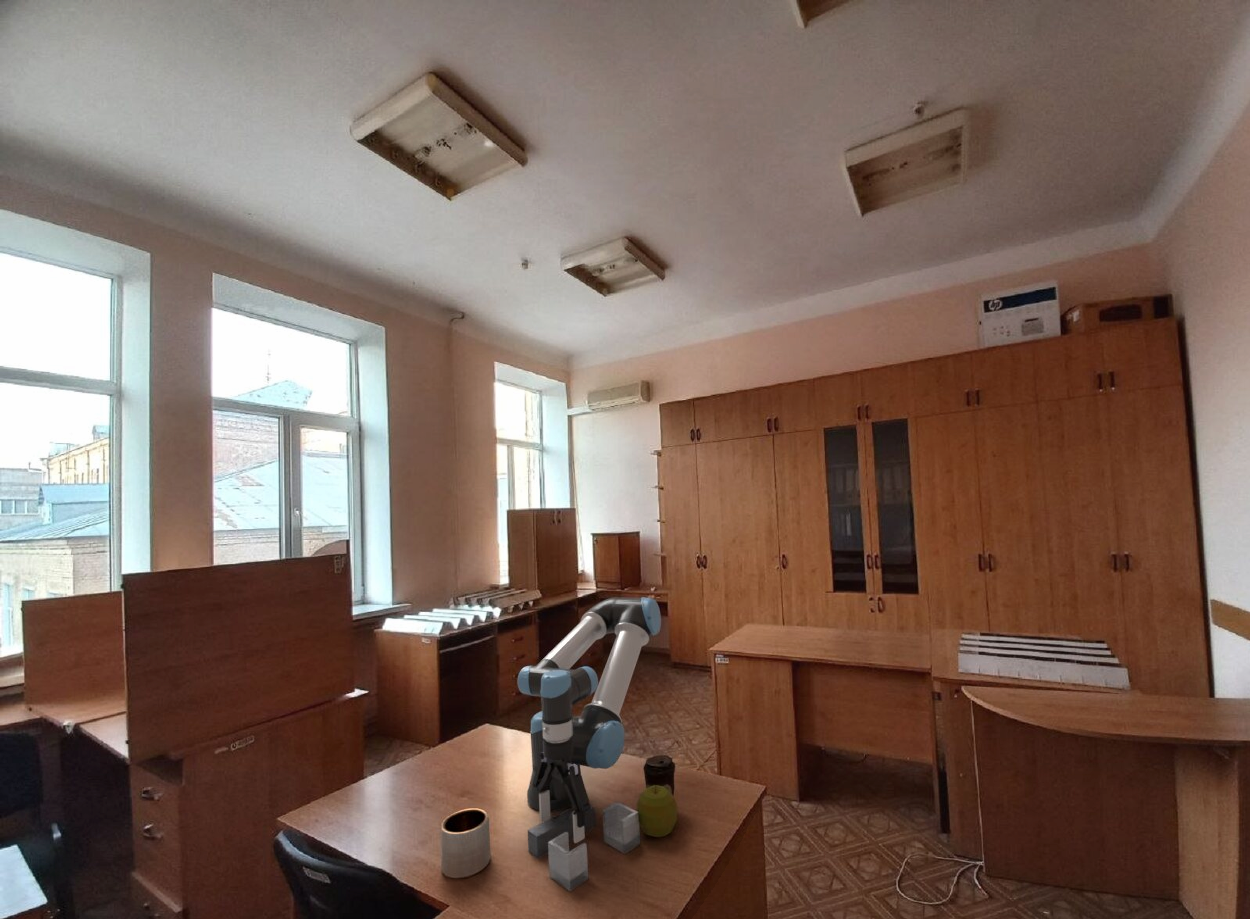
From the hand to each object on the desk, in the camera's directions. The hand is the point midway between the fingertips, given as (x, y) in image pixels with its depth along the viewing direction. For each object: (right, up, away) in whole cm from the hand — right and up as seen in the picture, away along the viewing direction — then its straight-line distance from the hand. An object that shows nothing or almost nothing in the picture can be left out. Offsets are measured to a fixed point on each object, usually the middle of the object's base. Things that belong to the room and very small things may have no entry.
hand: (561, 829), depth 129 cm
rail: (0, -2, 0) cm, 3 cm away
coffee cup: (+25, -2, +8) cm, 27 cm away
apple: (+24, -1, 0) cm, 24 cm away
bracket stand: (+9, -1, -9) cm, 13 cm away
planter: (-21, -3, -7) cm, 22 cm away
